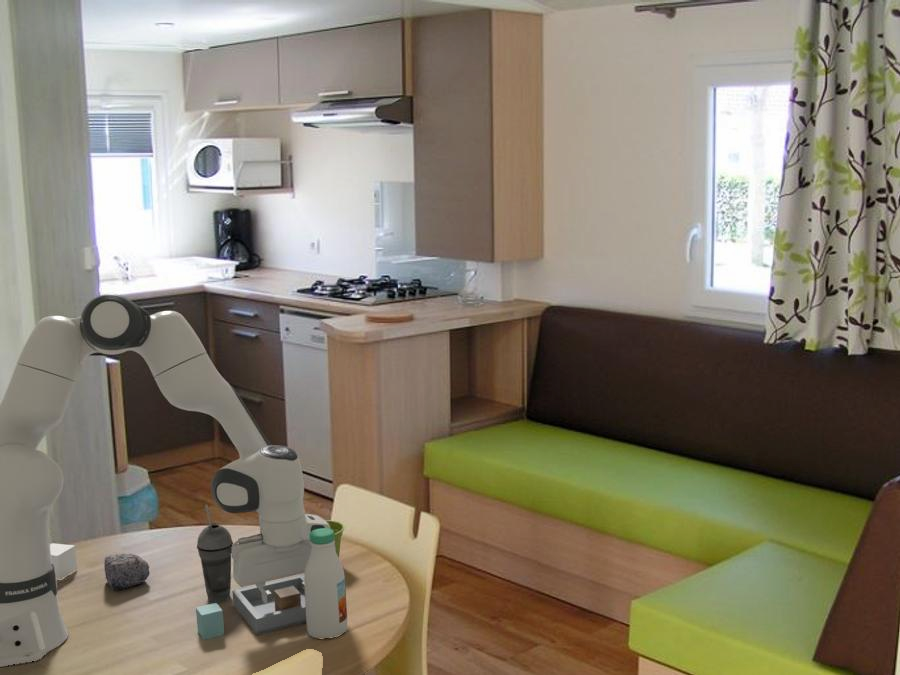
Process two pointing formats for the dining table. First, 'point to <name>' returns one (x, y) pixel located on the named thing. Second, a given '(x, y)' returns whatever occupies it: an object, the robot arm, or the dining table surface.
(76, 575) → the dining table surface
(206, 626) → the teal block
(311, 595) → the milk bottle
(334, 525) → the plant pot
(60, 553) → the white cube
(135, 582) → the pumice stone
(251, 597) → the tray
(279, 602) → the walnut block
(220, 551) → the beverage cup
